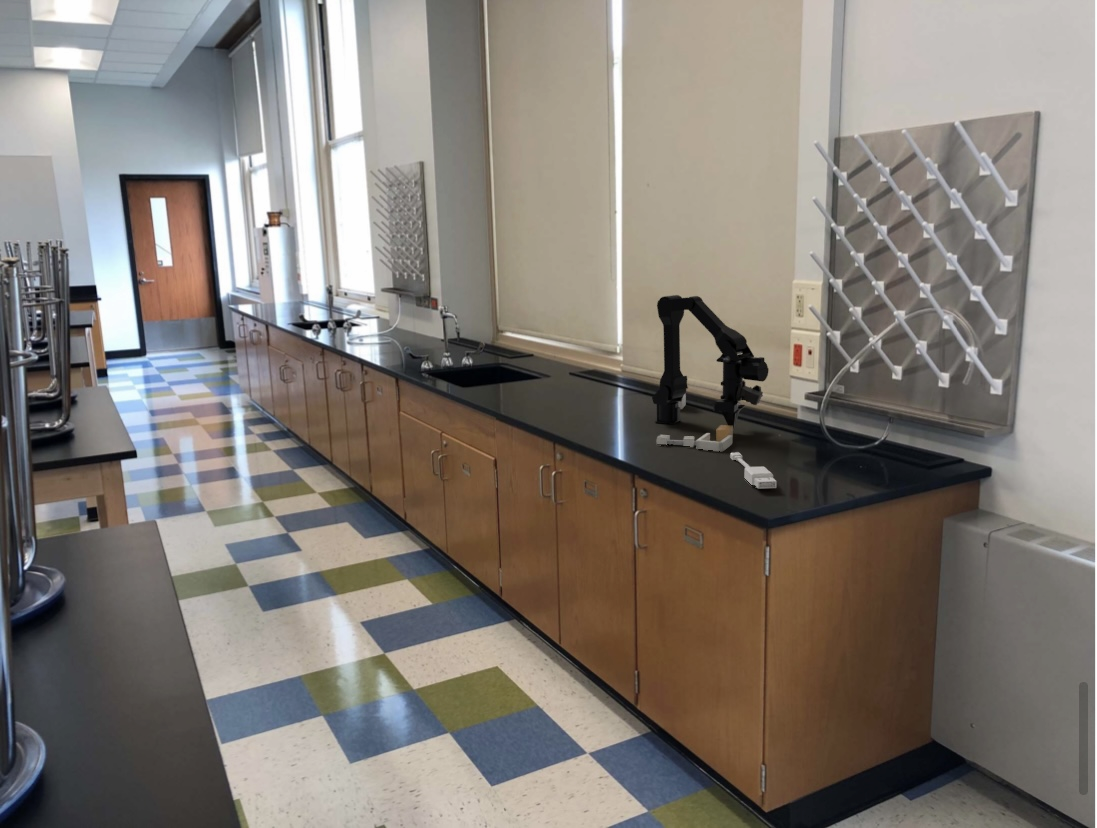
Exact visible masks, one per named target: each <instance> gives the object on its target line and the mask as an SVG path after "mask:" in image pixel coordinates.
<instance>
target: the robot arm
mask: <svg viewBox="0 0 1097 828" xmlns="http://www.w3.org/2000/svg"><path fill="white" fill-rule="evenodd" d="M656 303H657V304H656V307H657V309H656V310H657V315H658V318H659V320H660V322H661V323H662V326H663V329H662V330H663V369H664V370H663V373H662V375H661V377H660V380H659V386H658V390H657V391H656V393H654V394H653V395H652V397H651V398H652V401H653V405H656V419H655V420H654V423H655V422H656V424H657V423H659V424H667V423H669V424H670V425H672V424H673V425H675V424H677V423H678V422H679V421H681V409H680V407H679V401H682V398H683V395H684V394H685V393H687V389H689V386H688V376H687V375H683V373H682V371H681V344H680V341H681V336H680V335H681V334H680V330H681V329H680V325H681V322H682V319H683V318H684V316H685V311H689V313H691V314H692V315H693V316H694V317H695V319H697V321H698V322H699V323H700V324H701V325H702V326H703V327H704V328H705V329H706V330H707V331H708V332H709V333H710V334H711V336H713V338H714V342H715V345H716V347H717V348H718V350H719V351H720V353H721V355H720V356H719V357H718V358H717V359H715V360H716V362H718V363H722V381H720V386H721V387H722V394H721V395H720V399H717V400H716V401H715V402H714V403H713V404H712V407H713V408H712V411H713V412H719V413H720V412H721V414H722V416H723V418H724V419H725V421H726V422H725V423H726V425H729V426H733V431H734V430H735V427H736V424H737V420H738V417H739V413H740V411H742V409H744V408H745V407H746V405H745V404H741V401H746V403H749V404H751V405H753V406H757V405H758V404H759V403H760V401H761V399H762V397H763V394H764V392H763V391H762V387H761V386H759V385H758V384H756V385H754V386H753V387H752V386H750V387H749V386H747V385H746V381H745V380H747V381H754V382H755V381H756V382H764V381H766V380H767V378H768V376H769V371H770V370H769V367H768V364H767V362H765V357H761V356H760V357H757V356H755V355H754V353H753V352H752V350H751V349H750V346H749V345H748V344H747V338H746V337H745V336H744V335H742V334H741V333H740V332H739V331H737V330H736V329H734V328H731V327H729V326H727V325H726V324H725V323H724V321H722V319H720V317H718V316H717V314H716V313H715V312H714V311H713V310H712V309H711V308H710V306H708V305H707V304H706V303H705V302H704V301H703V299H702V297H700V296H698V295H694V296H687V297H682V296H680V295H679V294H675V295H674V294H672V295H666V296H661V297H660V298H659V300H657V302H656ZM669 424H668V425H669Z"/></svg>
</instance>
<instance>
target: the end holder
mask: <svg viewBox="0 0 1097 828" xmlns="http://www.w3.org/2000/svg"><path fill="white" fill-rule="evenodd" d="M695 441H696V445H695V450H698V449H703V450H702V451H708V450H713V451H712V452H719V451H720V452H721V453H722V452H724V451H726V449H728V448H729V447H730V446H732V445H733V437H732V435H728V436H727V437H726V438H724V439H723V440H722V441H716V440H711V433H710V432H706V433H704V434H703V435H702V436H700V437H699V438H697V439H696V440H695Z"/></svg>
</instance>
